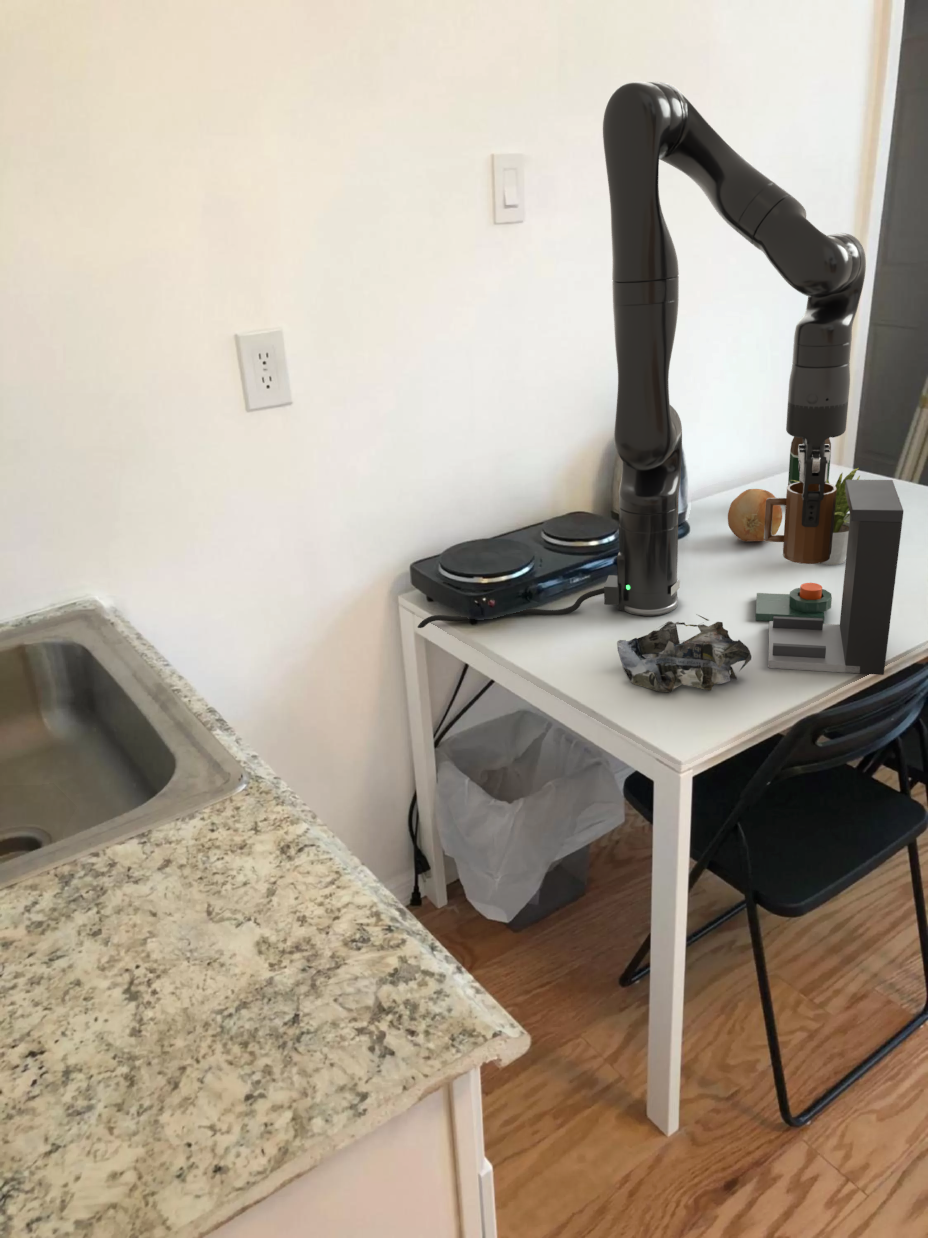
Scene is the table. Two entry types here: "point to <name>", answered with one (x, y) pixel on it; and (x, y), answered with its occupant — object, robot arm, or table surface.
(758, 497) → the onion
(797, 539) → the mug
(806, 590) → the button
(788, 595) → the block
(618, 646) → the foil
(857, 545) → the coffee machine
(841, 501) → the house plant
